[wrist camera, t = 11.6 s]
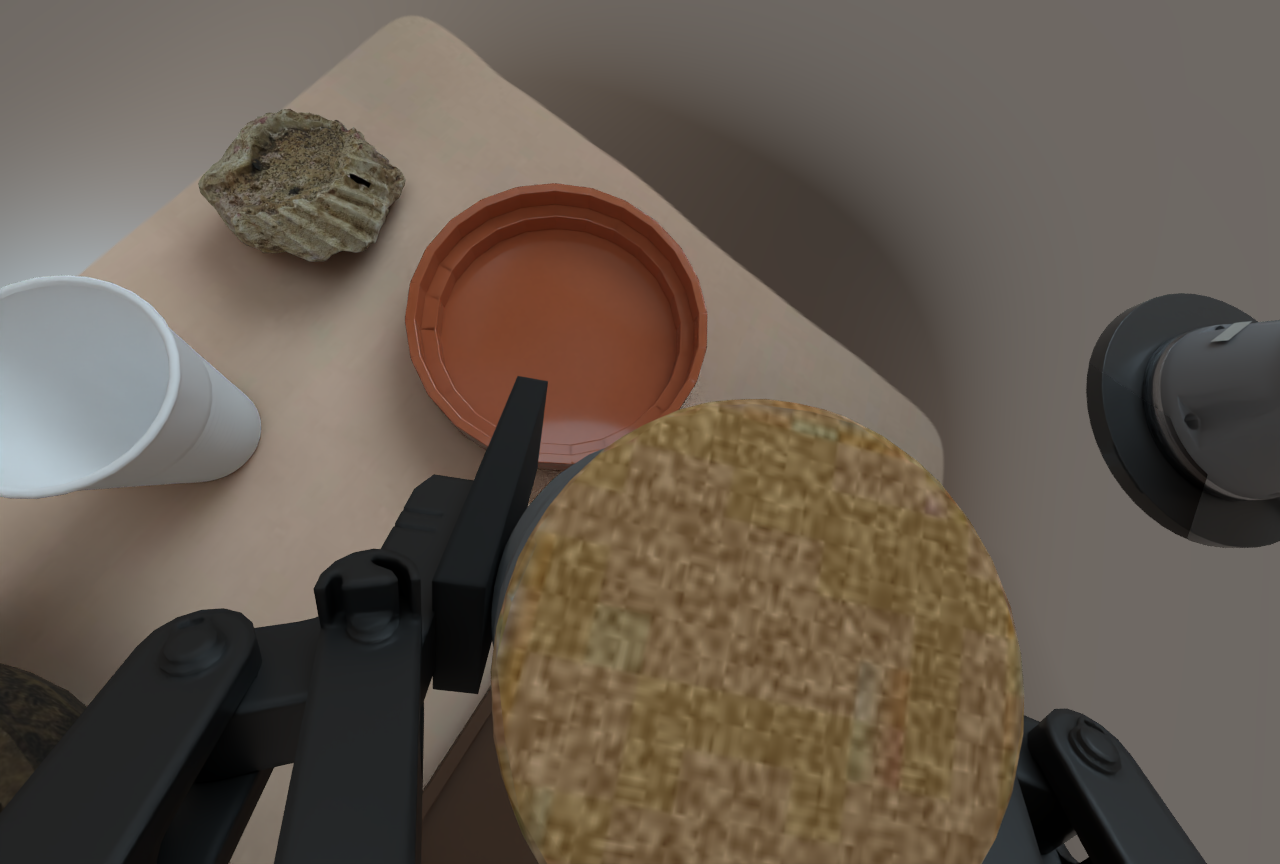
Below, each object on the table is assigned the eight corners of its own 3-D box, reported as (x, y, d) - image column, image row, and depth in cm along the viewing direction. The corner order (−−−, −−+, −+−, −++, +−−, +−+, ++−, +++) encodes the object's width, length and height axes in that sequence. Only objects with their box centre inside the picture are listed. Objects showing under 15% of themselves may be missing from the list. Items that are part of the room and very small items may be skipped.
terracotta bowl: (741, 309, 40) (757, 287, 37) (601, 526, 36) (605, 524, 32) (528, 168, 40) (525, 133, 37) (359, 367, 36) (337, 348, 32)
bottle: (586, 461, 20) (659, 225, 5) (720, 545, 20) (1167, 549, 5) (493, 604, 18) (229, 836, 4) (638, 695, 18) (940, 1276, 4)
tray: (821, 796, 34) (838, 812, 32) (698, 1066, 30) (708, 1103, 28) (538, 611, 34) (537, 615, 32) (378, 858, 30) (365, 881, 28)
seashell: (429, 234, 41) (345, 100, 38) (440, 209, 35) (342, 46, 32) (285, 304, 37) (179, 162, 34) (270, 290, 31) (138, 115, 28)
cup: (310, 488, 34) (194, 461, 23) (131, 534, 32) (-86, 529, 21) (282, 342, 35) (160, 254, 24) (109, 378, 33) (-104, 299, 23)
